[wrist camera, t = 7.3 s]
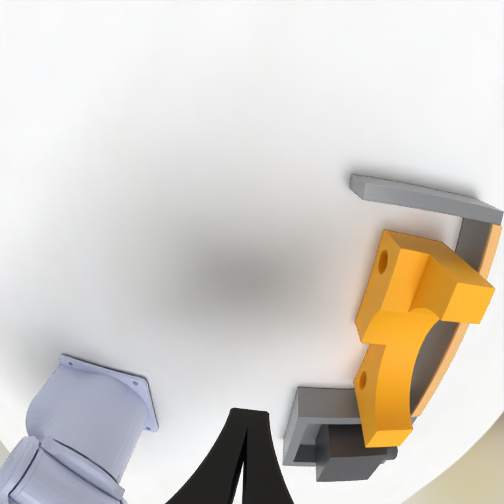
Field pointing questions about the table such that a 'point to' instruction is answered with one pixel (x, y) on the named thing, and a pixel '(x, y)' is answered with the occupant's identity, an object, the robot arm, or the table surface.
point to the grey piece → (427, 362)
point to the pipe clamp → (407, 324)
